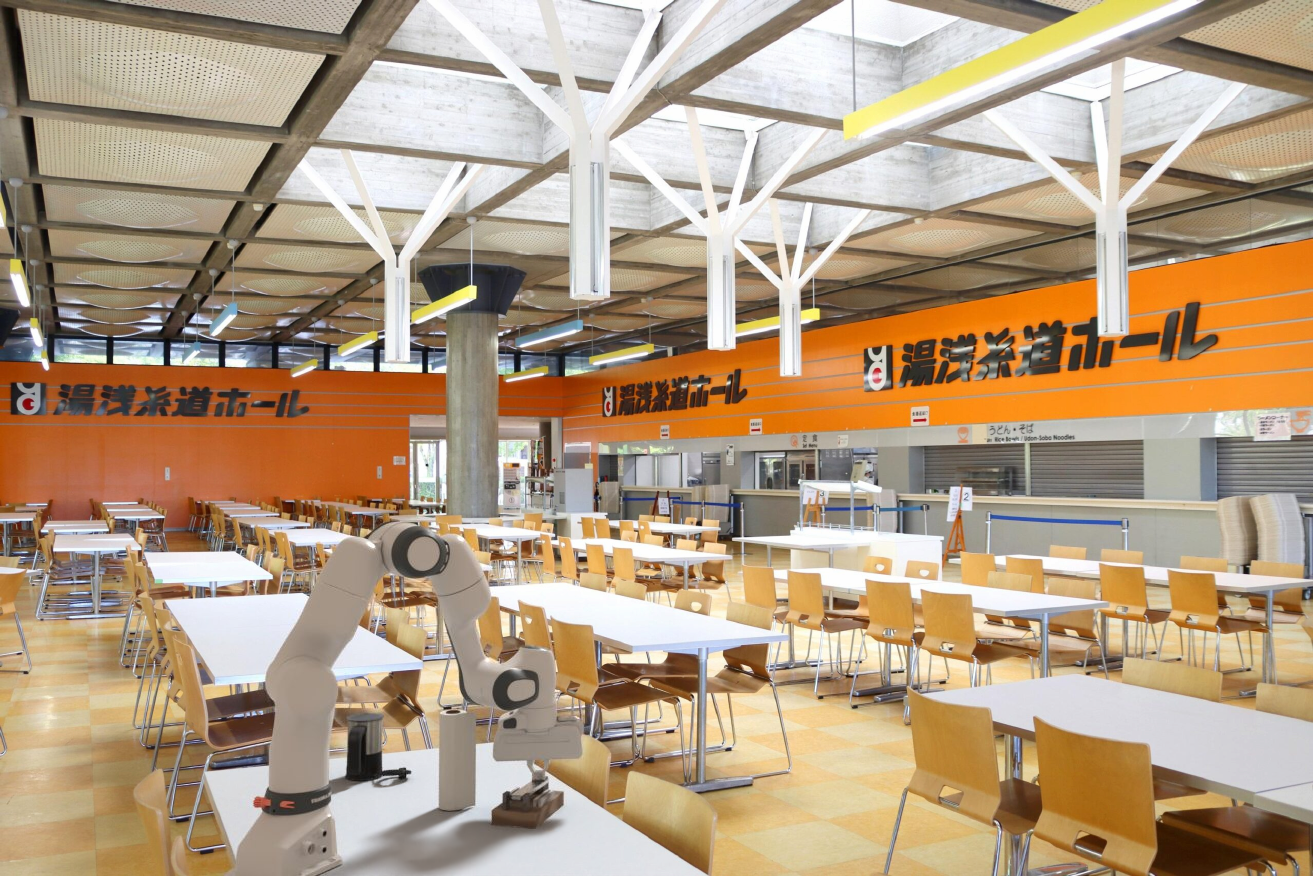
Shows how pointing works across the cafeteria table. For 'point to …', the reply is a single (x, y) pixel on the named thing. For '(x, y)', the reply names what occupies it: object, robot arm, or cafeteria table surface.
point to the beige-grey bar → (528, 789)
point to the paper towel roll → (457, 759)
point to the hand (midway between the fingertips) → (538, 779)
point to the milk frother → (367, 748)
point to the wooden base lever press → (527, 808)
